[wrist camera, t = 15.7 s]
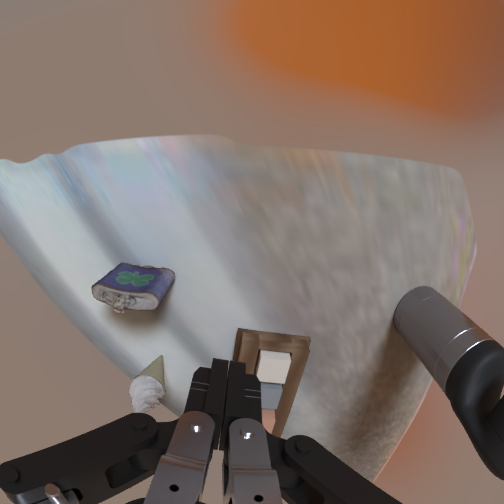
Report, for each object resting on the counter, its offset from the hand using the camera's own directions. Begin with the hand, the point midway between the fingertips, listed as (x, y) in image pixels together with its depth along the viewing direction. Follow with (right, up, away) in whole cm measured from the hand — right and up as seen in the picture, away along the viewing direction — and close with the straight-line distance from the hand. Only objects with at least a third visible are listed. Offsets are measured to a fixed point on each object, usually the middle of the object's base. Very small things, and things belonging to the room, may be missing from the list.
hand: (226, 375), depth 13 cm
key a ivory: (+4, -10, +30) cm, 32 cm away
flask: (-14, +3, +30) cm, 33 cm away
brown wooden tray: (+3, -17, +35) cm, 39 cm away
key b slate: (+3, -15, +32) cm, 36 cm away
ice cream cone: (-13, -11, +34) cm, 38 cm away
